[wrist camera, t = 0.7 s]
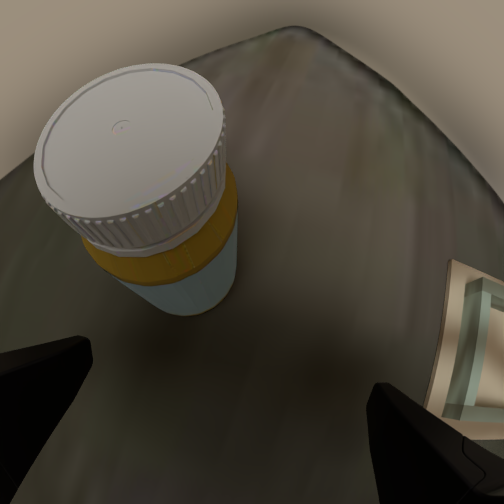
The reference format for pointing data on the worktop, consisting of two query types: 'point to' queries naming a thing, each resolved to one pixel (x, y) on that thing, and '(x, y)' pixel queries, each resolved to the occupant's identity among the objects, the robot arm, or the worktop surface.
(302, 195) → the worktop surface
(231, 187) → the bottle
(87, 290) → the worktop surface
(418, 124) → the worktop surface
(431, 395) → the square rimmed tray
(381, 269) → the worktop surface
